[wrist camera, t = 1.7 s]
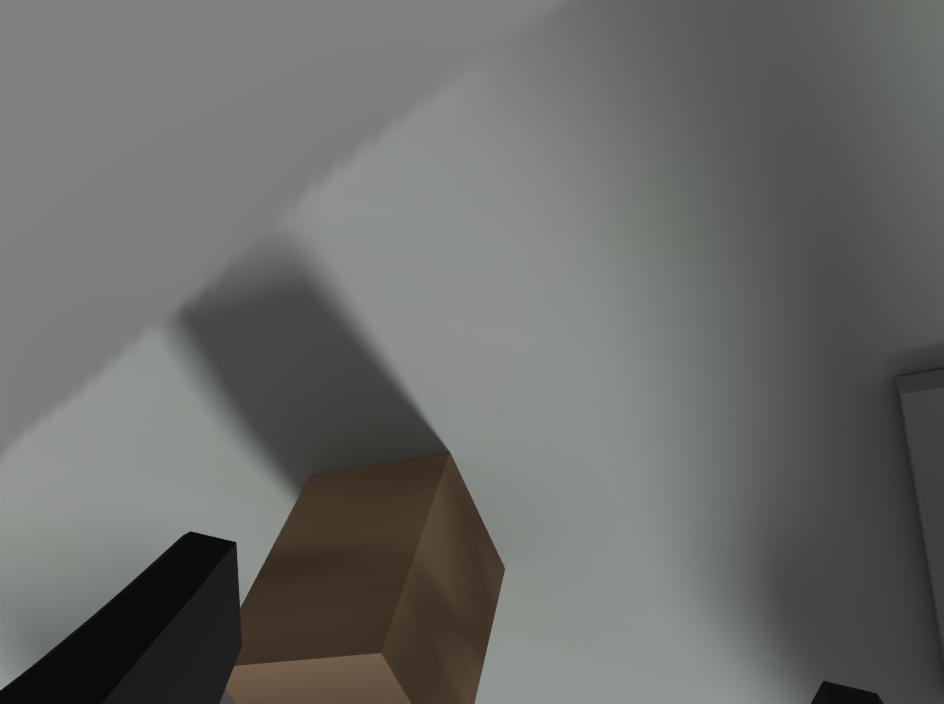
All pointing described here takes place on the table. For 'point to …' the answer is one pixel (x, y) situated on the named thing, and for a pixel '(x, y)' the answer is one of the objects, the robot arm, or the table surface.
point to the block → (372, 593)
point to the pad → (927, 469)
